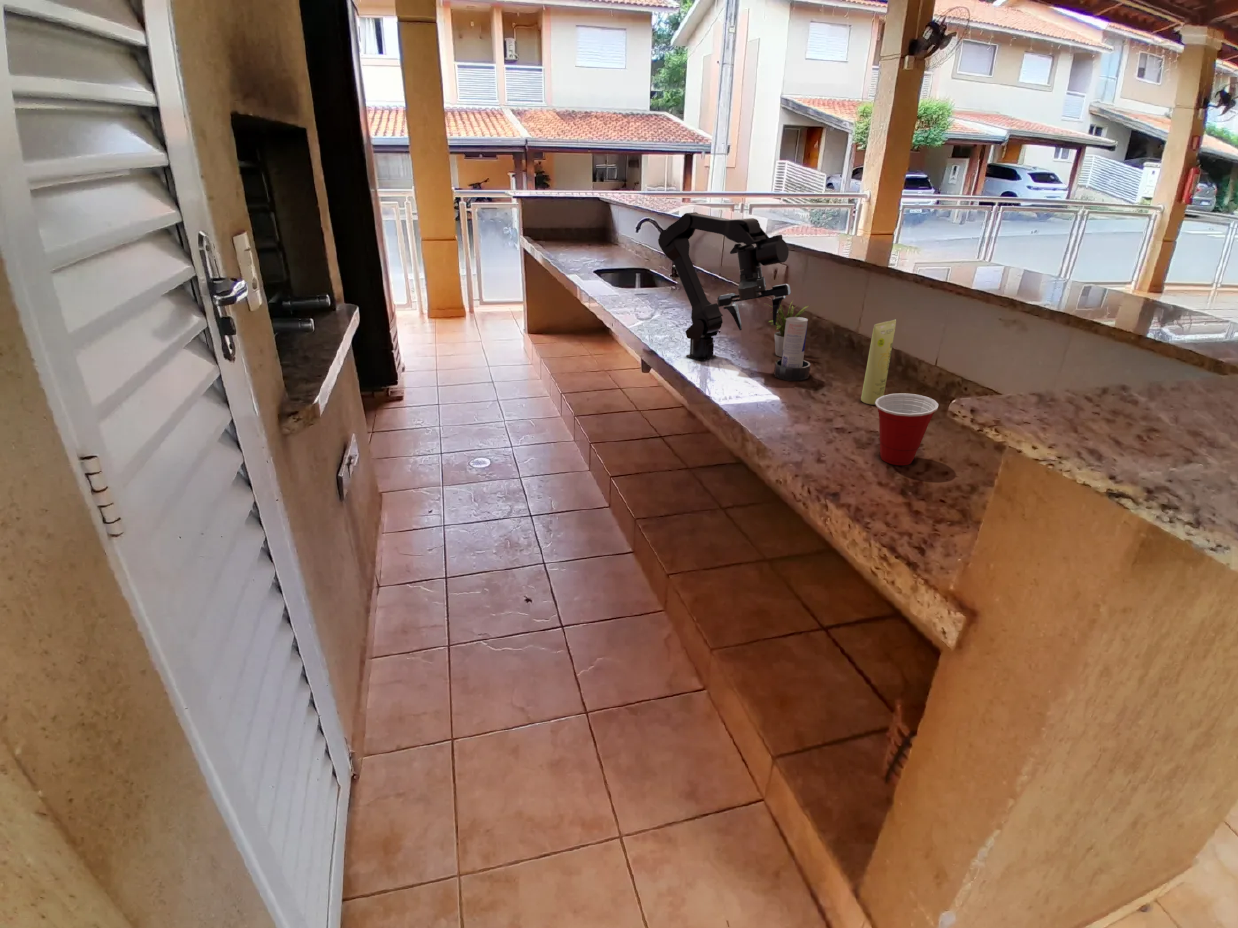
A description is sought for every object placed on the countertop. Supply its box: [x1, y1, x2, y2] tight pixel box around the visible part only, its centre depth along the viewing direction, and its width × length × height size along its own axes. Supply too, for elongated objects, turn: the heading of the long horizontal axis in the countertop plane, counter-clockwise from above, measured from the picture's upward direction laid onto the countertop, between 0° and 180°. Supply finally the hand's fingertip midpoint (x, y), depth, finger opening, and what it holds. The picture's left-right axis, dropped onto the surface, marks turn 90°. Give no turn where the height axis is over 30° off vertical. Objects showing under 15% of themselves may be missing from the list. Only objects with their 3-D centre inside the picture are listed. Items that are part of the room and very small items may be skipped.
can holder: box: [773, 358, 812, 382], centre depth 167 cm, size 9×9×4 cm
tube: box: [860, 318, 897, 406], centre depth 144 cm, size 6×5×20 cm
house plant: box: [765, 300, 810, 358], centre depth 183 cm, size 14×14×16 cm
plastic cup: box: [875, 392, 940, 466], centre depth 117 cm, size 11×11×12 cm
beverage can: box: [781, 316, 809, 368], centre depth 164 cm, size 6×6×15 cm
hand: (757, 327), depth 167 cm, fingers open, 9 cm apart
